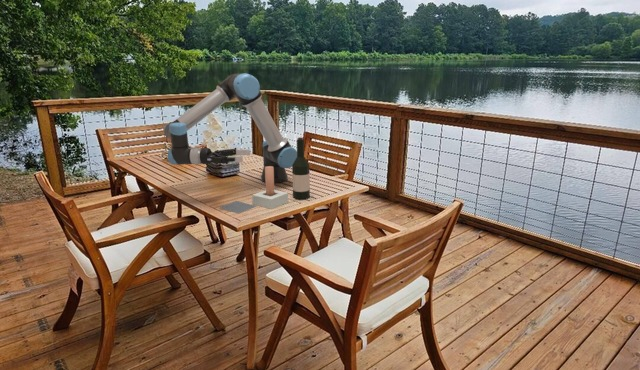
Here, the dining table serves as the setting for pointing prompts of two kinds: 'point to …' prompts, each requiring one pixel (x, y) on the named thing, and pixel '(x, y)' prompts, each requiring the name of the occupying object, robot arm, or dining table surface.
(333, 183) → the dining table surface
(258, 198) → the socket block
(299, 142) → the wine bottle
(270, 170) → the dowel
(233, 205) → the mat
